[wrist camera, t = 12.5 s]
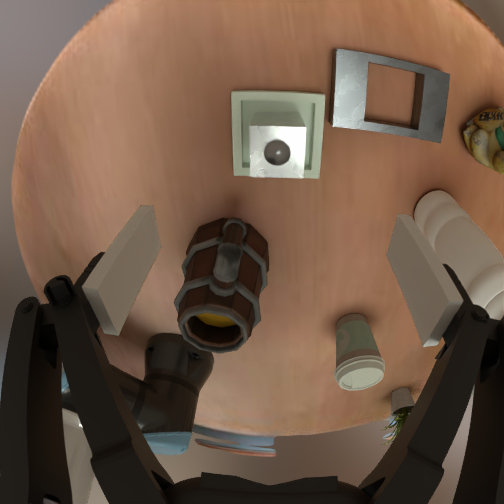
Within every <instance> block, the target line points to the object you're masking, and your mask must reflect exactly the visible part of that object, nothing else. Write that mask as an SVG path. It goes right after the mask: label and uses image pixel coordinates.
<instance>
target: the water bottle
mask: <svg viewBox="0 0 504 504" xmlns="http://www.w3.org/2000/svg"><path fill="white" fill-rule="evenodd" d="M414 220H415V223H416V225H417V226H418V227H419V229H420V230H421V232H422V233H423V235H424V236H425V238H426V239H427V241H428V242H429V244H430V245H431V247H432V248H433V250H434V251H435V253H436V255H437V256H438V258H439V259H440V261H441V263H442V264H447V265H448V266H449V267H451V268H452V269H453V270H454V272H455V273H456V275H457V277H458V279H459V280H460V282H461V283H462V285H463V287H464V288H465V290H466V292H467V294H468V295H469V297H470V299H471V301H472V303H473V304H476V305H479V306H481V307H482V308H484V309H485V310H486V311H487V313H488V314H489V316H490V318H492V319H496V320H501V319H502V317H503V316H504V258H503V256H502V255H501V253H500V252H499V250H498V249H497V248H496V246H495V245H494V244H493V243H492V241H491V240H490V239H489V238H488V236H487V235H486V234H485V233H484V232H483V231H482V230H481V229H480V228H479V227H478V226H477V225H476V224H475V223H474V222H473V221H472V219H471V218H470V216H469V215H468V214H467V212H466V211H465V210H464V209H462V208H461V207H460V206H459V205H458V203H457V202H456V201H455V200H454V199H453V197H452V196H451V195H449V194H448V193H446V192H444V191H440V190H437V191H432V192H430V193H428V194H426V195H425V196H424V197H422V198H421V200H420V201H419V202H418V204H417V206H416V209H415V213H414Z"/></svg>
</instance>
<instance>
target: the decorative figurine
mask: <svg viewBox="0 0 504 504" xmlns="http://www.w3.org/2000/svg"><path fill="white" fill-rule="evenodd" d="M466 127H467V128H466V130H465V131H463V136H464V140H465V144H466V146H467V149H468V151H469V152H470V154H471V155H472V156H473V157H474V158H475V160H476V161H478V162H479V163H480V164H482V165H484V166H486V167H489V168H491V169H493V170H495V171H497V172H499V173H500V174H503V175H504V110H503V109H502V108H500V107H498V108H495V109H486V110H484V111H482V112H481V113H479V114H478V115H477V116H475V117H474V118H472V119H471V120H470V121H468V122H467V123H466Z"/></svg>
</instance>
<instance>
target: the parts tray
mask: <svg viewBox="0 0 504 504" xmlns="http://www.w3.org/2000/svg"><path fill="white" fill-rule="evenodd" d="M231 102H232V138H233V169H234V176H250V140H249V125H250V123H251V120H252V118H253V116H254V113H255V112H289V113H300V115H301V117H302V119H303V122H304V124H305V126H306V141H305V160H304V177H303V178H315V179H319V174H320V163H321V151H322V139H323V125H324V109H325V95H324V94H323V93H315V92H301V91H280V90H234V91H232V92H231Z"/></svg>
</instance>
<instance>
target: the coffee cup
mask: <svg viewBox="0 0 504 504" xmlns="http://www.w3.org/2000/svg"><path fill="white" fill-rule="evenodd" d="M384 370H385V362H384V360H383V359H382V358H381V355H380V353H379V350H378V347H377V345H376V342H375V339H374V337H373V334H372V332H371V329H370V326H369V324H368V322H367V319H366V317H365V316H363V315H361V314H349V315H346V316H344V317H342V318H341V319H340V320H339V321H338V322H337V325H336V370H335V372H334V376H335V379H336V381H337V382H338V384H339V386H340V387H341V388H343V389H346V390H362V389H366V388H369V387H371V386H374V385H375V384H377V383H378V382H380V381H381V379H382V378H383V376H384Z"/></svg>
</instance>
